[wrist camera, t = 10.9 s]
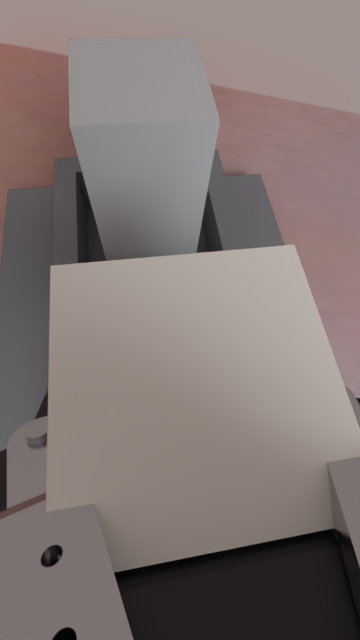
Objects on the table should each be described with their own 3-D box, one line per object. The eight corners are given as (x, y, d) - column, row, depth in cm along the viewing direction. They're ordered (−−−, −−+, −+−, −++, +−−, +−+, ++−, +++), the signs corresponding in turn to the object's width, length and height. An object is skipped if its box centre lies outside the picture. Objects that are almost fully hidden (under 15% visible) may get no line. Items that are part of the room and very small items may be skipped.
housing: (254, 189, 25) (324, -8, 14) (363, 528, 16) (770, 673, 5) (17, 205, 23) (-107, -11, 12) (-12, 605, 14) (-568, 1090, 3)
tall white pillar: (214, 370, 15) (293, 244, 6) (235, 476, 14) (391, 516, 4) (116, 382, 15) (50, 265, 6) (124, 495, 13) (44, 586, 4)
